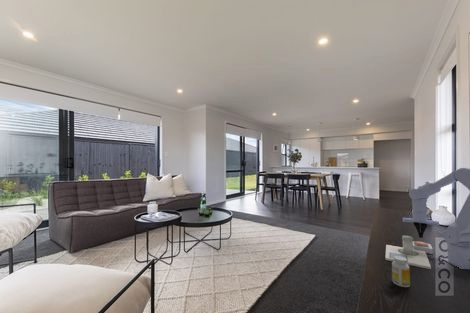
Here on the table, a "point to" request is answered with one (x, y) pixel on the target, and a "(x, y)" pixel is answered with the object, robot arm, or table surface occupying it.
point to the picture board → (408, 256)
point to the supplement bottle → (400, 272)
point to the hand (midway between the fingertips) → (420, 237)
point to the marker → (407, 244)
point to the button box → (423, 248)
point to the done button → (421, 244)
